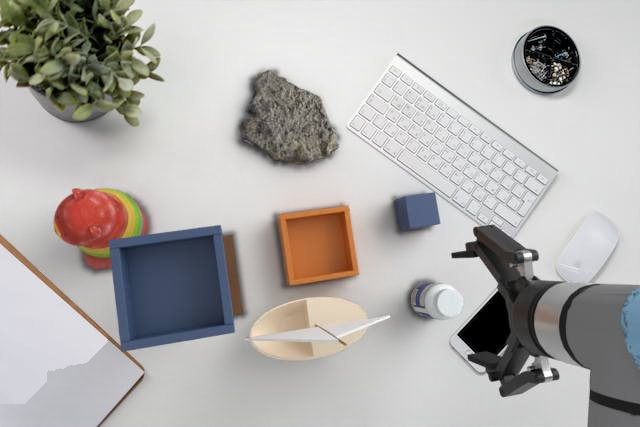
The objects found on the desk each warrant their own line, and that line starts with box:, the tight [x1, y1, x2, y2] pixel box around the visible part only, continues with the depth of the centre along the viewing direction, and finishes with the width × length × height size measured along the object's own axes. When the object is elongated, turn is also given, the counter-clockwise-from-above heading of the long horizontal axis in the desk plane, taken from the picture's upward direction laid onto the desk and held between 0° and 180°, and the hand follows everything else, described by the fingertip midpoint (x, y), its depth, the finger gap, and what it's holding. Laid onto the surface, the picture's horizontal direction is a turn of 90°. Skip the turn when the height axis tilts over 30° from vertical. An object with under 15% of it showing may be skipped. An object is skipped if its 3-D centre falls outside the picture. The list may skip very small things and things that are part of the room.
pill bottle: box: [410, 282, 464, 321], centre depth 80 cm, size 5×5×10 cm
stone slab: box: [240, 69, 340, 165], centre depth 83 cm, size 12×17×3 cm
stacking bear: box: [53, 187, 148, 271], centre depth 69 cm, size 11×10×18 cm
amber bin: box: [276, 205, 360, 287], centre depth 81 cm, size 11×11×4 cm
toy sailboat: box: [244, 296, 391, 362], centre depth 69 cm, size 21×25×9 cm
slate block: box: [394, 191, 441, 231], centre depth 83 cm, size 5×5×5 cm
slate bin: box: [109, 224, 244, 353], centre depth 63 cm, size 12×12×34 cm
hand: (468, 304), depth 71 cm, fingers open, 13 cm apart
